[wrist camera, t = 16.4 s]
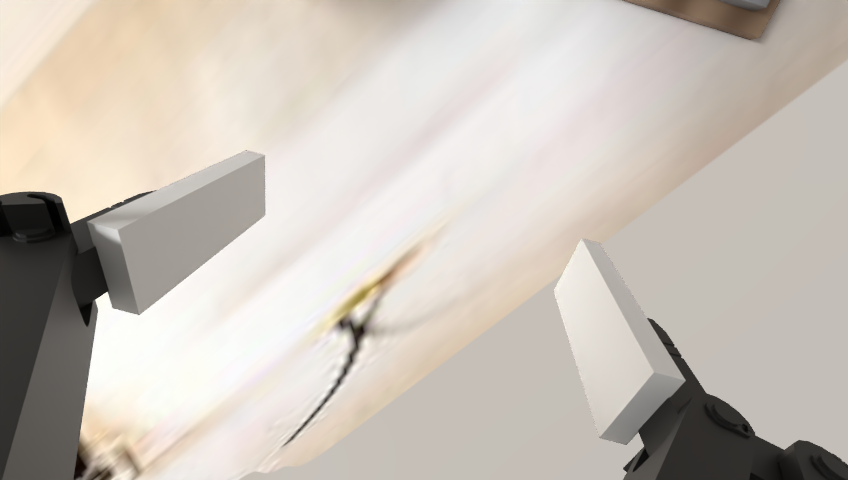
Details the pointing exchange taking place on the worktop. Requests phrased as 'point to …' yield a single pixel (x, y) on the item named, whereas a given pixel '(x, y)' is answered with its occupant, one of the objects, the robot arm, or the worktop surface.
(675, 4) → the mount plate
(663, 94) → the worktop surface
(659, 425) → the robot arm
